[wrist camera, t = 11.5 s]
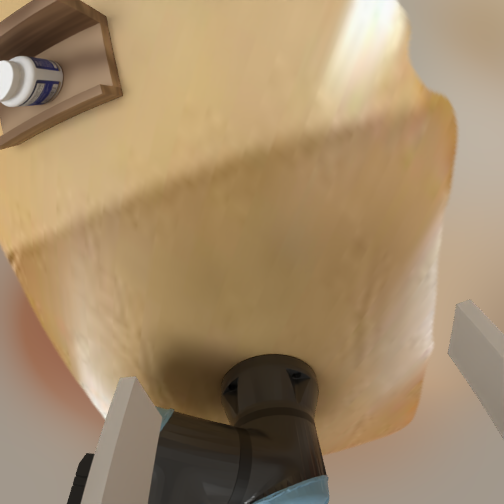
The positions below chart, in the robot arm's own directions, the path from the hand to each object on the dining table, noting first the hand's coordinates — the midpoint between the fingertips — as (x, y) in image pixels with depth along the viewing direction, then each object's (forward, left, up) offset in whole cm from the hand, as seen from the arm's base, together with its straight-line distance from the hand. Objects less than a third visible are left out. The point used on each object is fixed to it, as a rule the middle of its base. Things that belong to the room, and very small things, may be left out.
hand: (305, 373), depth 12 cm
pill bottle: (+20, +20, -24) cm, 37 cm away
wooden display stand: (+21, +20, -27) cm, 39 cm away
